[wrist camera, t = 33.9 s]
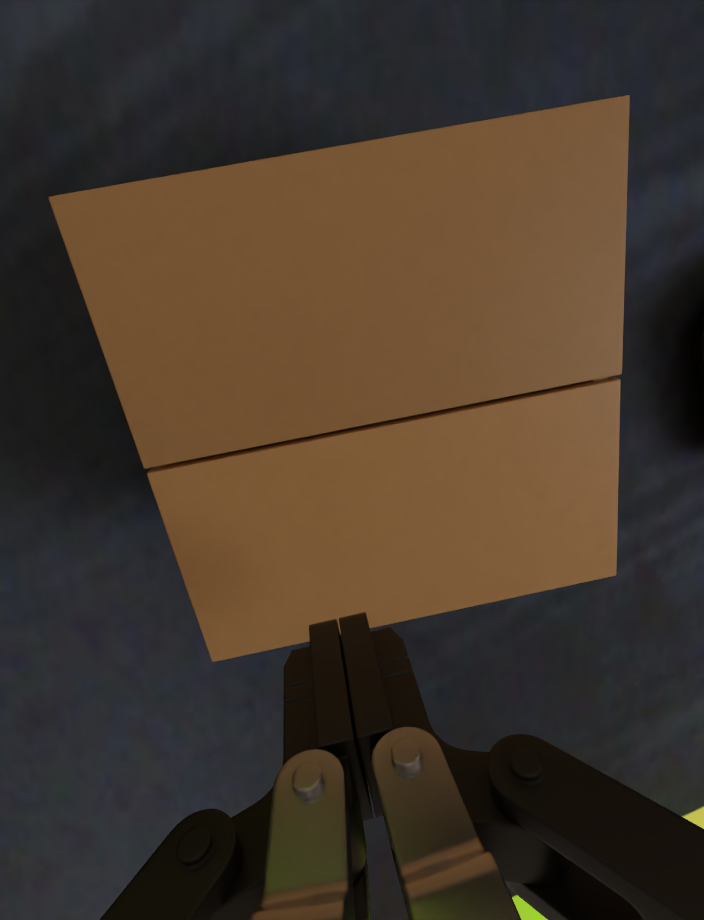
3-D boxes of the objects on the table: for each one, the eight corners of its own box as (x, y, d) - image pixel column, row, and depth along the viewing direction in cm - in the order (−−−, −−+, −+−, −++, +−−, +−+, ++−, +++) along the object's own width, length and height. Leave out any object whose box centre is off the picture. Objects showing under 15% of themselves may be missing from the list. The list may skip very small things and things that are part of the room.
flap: (613, 376, 15) (621, 378, 15) (609, 569, 17) (616, 575, 17) (149, 468, 14) (145, 473, 14) (213, 654, 17) (211, 662, 16)
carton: (473, 175, 22) (632, 90, 12) (494, 460, 27) (618, 577, 17) (164, 231, 22) (43, 193, 11) (243, 511, 27) (211, 664, 16)
